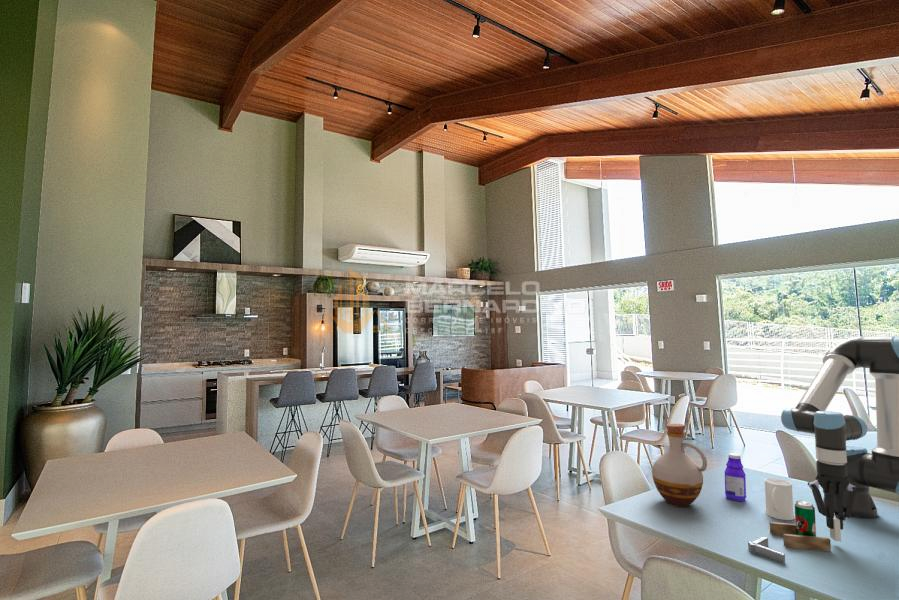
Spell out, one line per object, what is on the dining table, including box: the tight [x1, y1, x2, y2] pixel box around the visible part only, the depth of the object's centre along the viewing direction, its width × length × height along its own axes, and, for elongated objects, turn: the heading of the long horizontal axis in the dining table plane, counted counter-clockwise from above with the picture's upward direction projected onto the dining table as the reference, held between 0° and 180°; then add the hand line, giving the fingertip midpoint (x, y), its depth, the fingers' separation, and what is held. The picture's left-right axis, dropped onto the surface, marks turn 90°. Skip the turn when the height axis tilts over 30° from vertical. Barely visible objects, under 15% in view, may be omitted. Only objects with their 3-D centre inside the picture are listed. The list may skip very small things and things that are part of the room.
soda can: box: [794, 500, 817, 537], centre depth 143 cm, size 5×5×12 cm
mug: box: [764, 477, 795, 521], centre depth 163 cm, size 12×8×12 cm
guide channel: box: [769, 521, 832, 552], centre depth 143 cm, size 12×10×4 cm
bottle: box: [724, 452, 747, 502], centre depth 181 cm, size 7×6×17 cm
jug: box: [651, 423, 708, 508], centre depth 176 cm, size 20×18×30 cm
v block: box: [747, 536, 786, 565], centre depth 136 cm, size 7×12×2 cm, turn 167°
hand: (835, 539), depth 141 cm, fingers closed
